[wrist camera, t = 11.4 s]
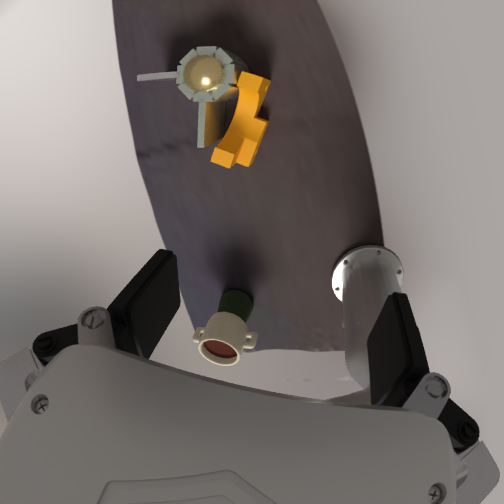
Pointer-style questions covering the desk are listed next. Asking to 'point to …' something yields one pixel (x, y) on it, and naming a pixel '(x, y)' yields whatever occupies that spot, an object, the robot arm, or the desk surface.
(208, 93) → the hinge
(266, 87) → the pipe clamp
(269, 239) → the desk surface
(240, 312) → the character mug
